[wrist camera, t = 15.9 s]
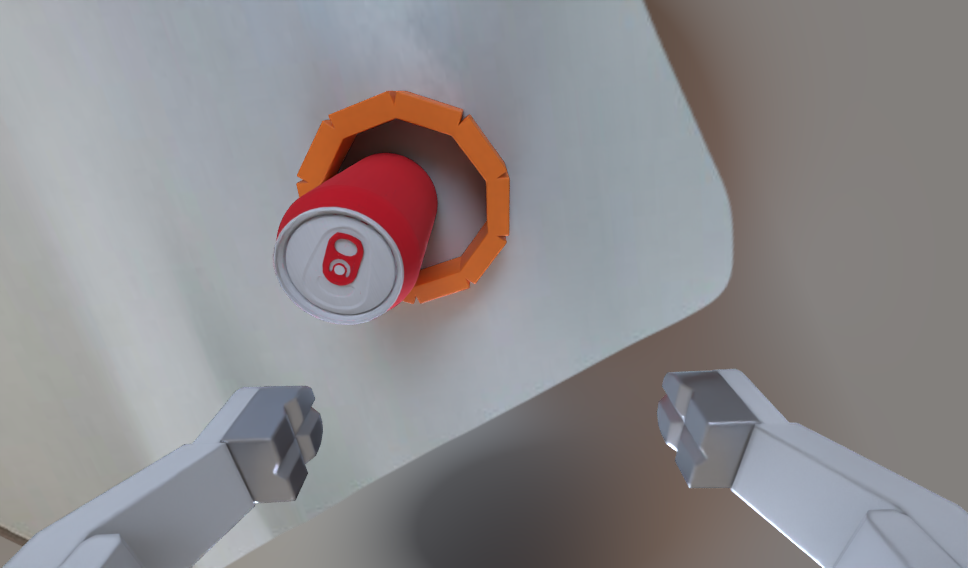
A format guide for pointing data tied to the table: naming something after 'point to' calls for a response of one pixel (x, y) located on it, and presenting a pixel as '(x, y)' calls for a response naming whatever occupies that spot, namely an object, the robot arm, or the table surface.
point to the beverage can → (357, 240)
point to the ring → (438, 117)
